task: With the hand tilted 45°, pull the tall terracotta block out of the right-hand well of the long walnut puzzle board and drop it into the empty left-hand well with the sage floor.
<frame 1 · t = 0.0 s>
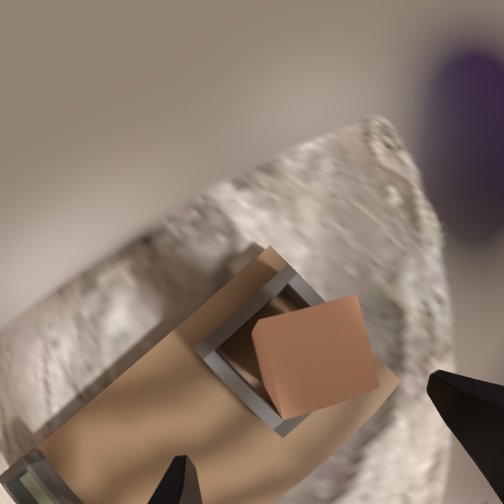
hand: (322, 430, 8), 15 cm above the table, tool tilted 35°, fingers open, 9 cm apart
puzzle board: (161, 467, 18), on the table
block: (280, 352, 21), point 1 cm above the table, touching puzzle board
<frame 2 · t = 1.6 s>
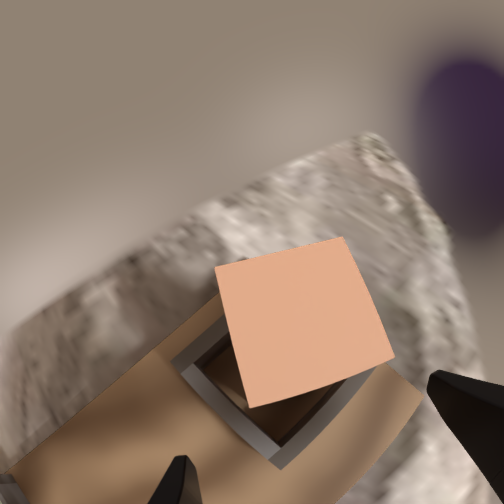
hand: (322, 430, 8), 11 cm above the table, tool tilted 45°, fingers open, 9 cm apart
block: (277, 371, 17), point 1 cm above the table, touching puzzle board
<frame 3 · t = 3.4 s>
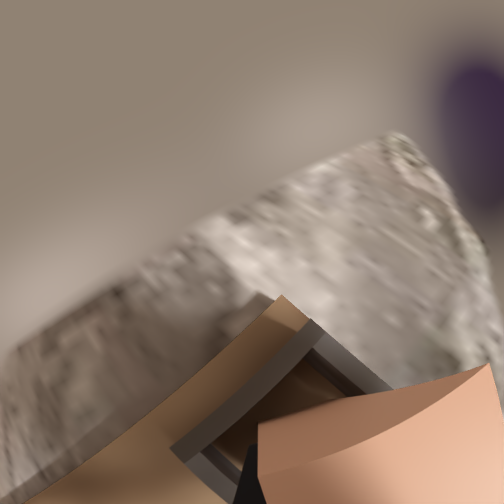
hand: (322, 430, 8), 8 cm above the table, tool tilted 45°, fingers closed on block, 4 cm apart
block: (304, 443, 12), point 1 cm above the table, touching gripper, puzzle board
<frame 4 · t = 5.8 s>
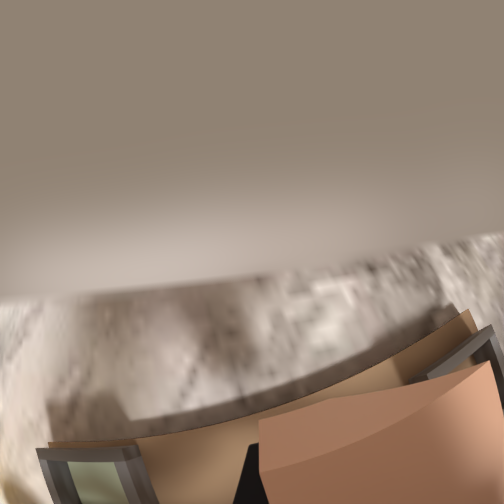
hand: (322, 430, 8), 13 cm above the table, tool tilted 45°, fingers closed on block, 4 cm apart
puzzle board: (305, 494, 15), on the table
block: (304, 442, 12), point 7 cm above the table, touching gripper
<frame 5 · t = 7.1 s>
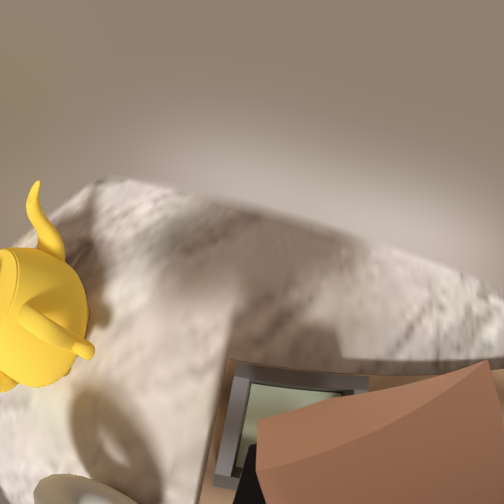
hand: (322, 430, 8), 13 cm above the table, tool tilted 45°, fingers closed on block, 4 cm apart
donut: (125, 502, 14), on the table
teapot: (60, 333, 23), on the table
puzzle board: (443, 459, 15), on the table
block: (304, 442, 12), point 7 cm above the table, touching gripper
when the fingers open (9 cm above the table, at t = 8.3 s): block drops 2 cm, resting on puzzle board.
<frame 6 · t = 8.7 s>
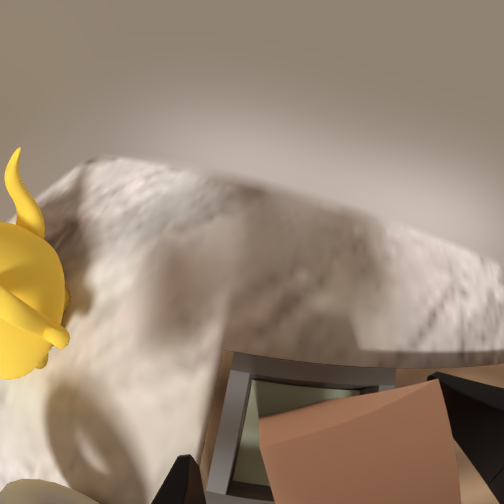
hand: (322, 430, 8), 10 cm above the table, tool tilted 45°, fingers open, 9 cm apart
teapot: (38, 321, 19), on the table
puzzle board: (468, 463, 12), on the table
block: (299, 438, 14), point 2 cm above the table, touching puzzle board
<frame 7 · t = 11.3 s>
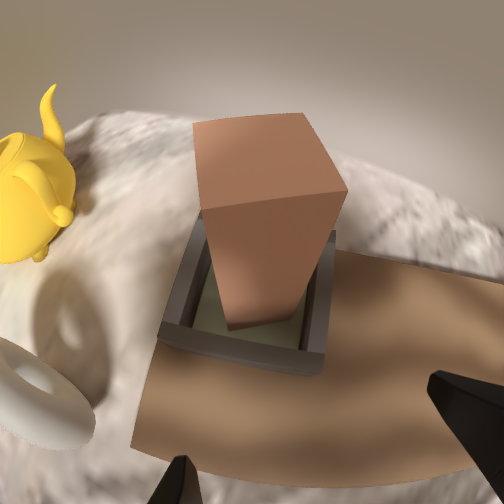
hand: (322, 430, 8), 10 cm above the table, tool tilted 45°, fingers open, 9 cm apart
donut: (69, 398, 16), on the table
teapot: (44, 226, 24), on the table
puzzle board: (437, 374, 17), on the table
block: (253, 297, 18), point 2 cm above the table, touching puzzle board
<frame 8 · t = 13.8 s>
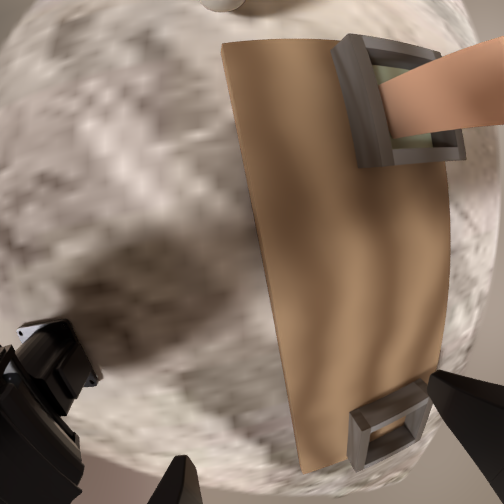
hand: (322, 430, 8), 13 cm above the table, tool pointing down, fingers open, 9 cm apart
puzzle board: (371, 301, 22), on the table
block: (396, 105, 17), point 2 cm above the table, touching puzzle board
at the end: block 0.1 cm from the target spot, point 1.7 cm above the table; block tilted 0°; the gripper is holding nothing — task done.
